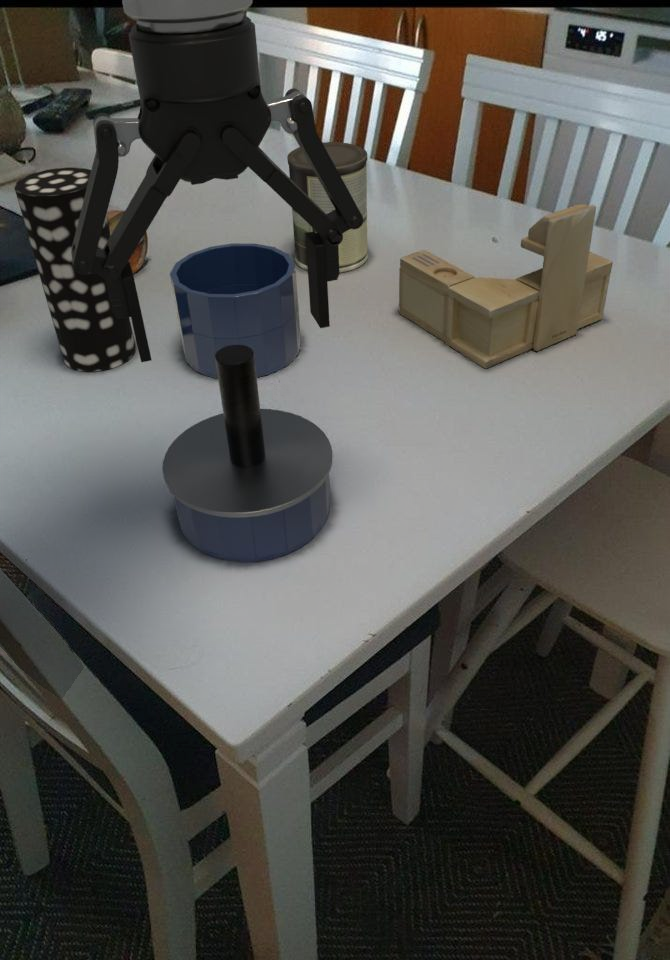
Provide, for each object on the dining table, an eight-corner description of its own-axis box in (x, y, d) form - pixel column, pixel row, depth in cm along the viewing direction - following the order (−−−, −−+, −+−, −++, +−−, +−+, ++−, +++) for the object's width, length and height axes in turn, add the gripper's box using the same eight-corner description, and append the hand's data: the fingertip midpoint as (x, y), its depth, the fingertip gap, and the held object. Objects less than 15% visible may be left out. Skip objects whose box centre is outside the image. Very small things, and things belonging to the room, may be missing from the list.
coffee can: (280, 265, 112) (271, 160, 103) (319, 238, 118) (314, 137, 109) (344, 280, 107) (341, 172, 98) (381, 251, 114) (381, 147, 105)
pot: (195, 389, 88) (181, 306, 82) (176, 332, 98) (162, 254, 92) (313, 366, 91) (308, 284, 84) (283, 313, 101) (277, 236, 94)
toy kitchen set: (509, 273, 107) (522, 156, 97) (607, 322, 96) (632, 195, 86) (397, 314, 100) (399, 191, 90) (488, 372, 89) (502, 239, 79)
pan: (192, 578, 66) (182, 529, 63) (169, 479, 76) (159, 433, 73) (348, 540, 69) (347, 491, 65) (306, 450, 79) (302, 404, 75)
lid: (178, 541, 63) (153, 424, 55) (154, 436, 73) (130, 327, 66) (355, 500, 66) (352, 384, 58) (307, 405, 76) (299, 298, 69)
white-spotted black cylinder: (114, 328, 99) (75, 161, 86) (149, 353, 94) (113, 181, 81) (51, 352, 95) (1, 181, 82) (83, 380, 90) (35, 202, 77)
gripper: (-33, 55, 42) (68, 393, 56) (411, 7, 48) (406, 328, 61) (-28, 29, 48) (63, 342, 62) (369, -12, 53) (373, 286, 67)
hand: (234, 336), depth 61 cm, fingers open, 13 cm apart
